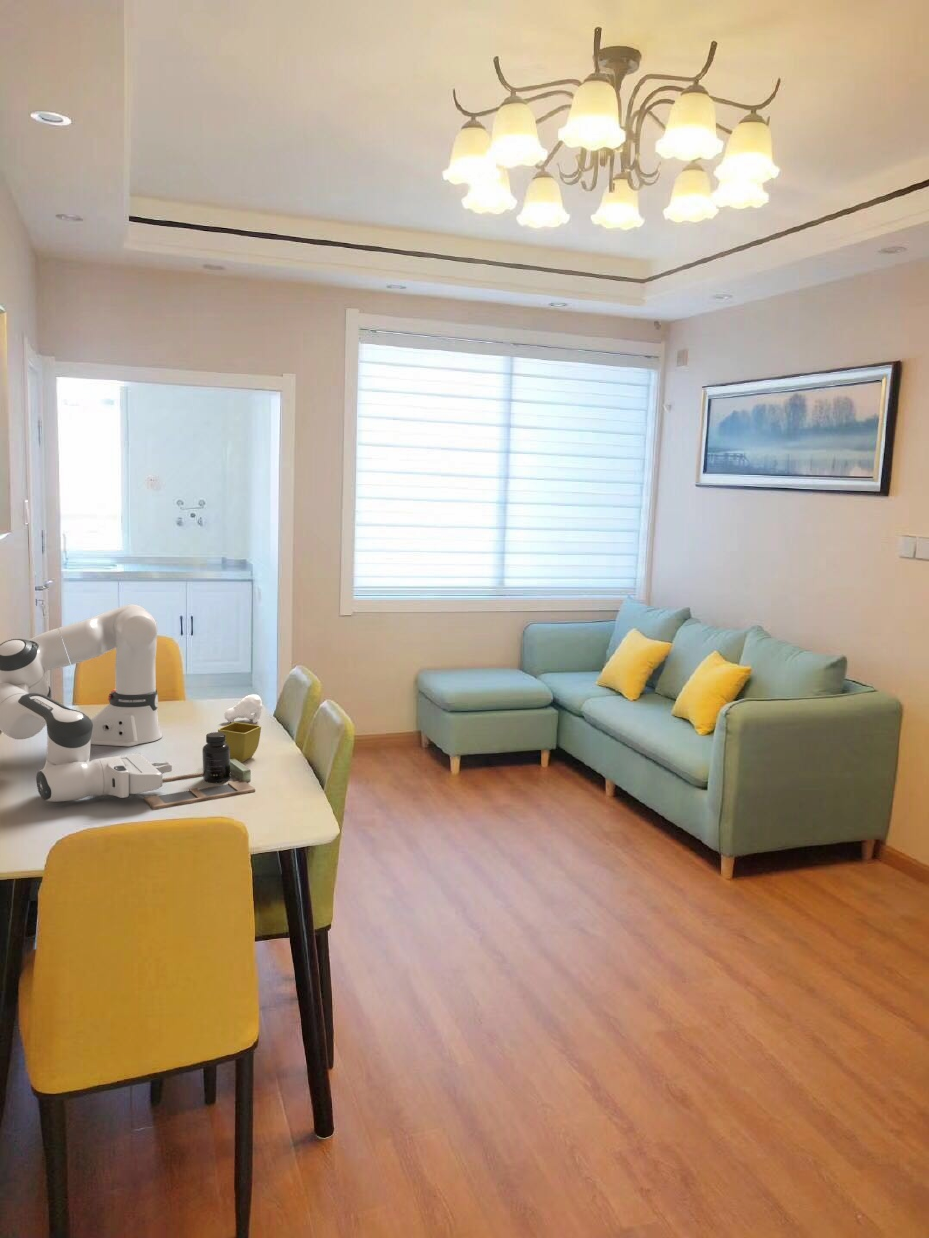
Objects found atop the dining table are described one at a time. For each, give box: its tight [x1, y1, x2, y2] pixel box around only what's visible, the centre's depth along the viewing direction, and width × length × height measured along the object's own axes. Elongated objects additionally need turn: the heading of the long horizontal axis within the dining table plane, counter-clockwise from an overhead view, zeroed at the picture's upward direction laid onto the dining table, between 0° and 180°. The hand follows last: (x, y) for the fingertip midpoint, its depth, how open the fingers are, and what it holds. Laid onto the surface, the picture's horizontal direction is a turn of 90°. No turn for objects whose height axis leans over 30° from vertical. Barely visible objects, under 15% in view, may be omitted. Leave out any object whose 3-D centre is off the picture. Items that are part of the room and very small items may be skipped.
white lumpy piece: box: [223, 694, 263, 724], centre depth 291 cm, size 6×8×12 cm
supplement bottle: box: [202, 731, 231, 784], centre depth 235 cm, size 7×7×12 cm
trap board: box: [143, 759, 256, 810], centre depth 229 cm, size 27×19×3 cm
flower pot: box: [217, 721, 262, 763], centre depth 253 cm, size 9×9×9 cm
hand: (169, 766), depth 228 cm, fingers closed
